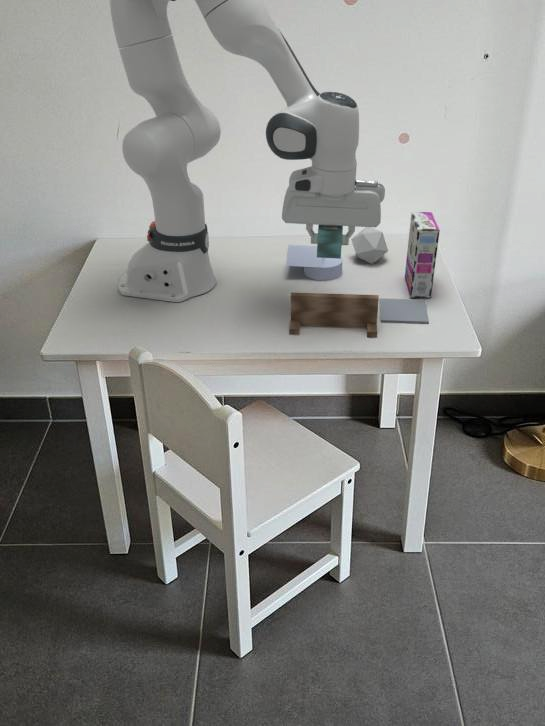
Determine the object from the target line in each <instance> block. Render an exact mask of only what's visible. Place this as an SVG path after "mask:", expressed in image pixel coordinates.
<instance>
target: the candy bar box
mask: <svg viewBox="0 0 545 726" xmlns="http://www.w3.org/2000/svg"><path fill="white" fill-rule="evenodd" d="M410 214H411V215H410V224H409V233H408V240H407V251H406V261H405V269H404V270H405V272H404V279H405V282H406V286H407V291H408V293H409V297H410V299H431V298H432V294H433V293H432V291H433V284H434V277H435V271H436V270H435V268H436V261H437V255H438V254H437V253H438V248H439V247H438V245H439V240H440V239H439V238H440V231H441V229H440V228H439V226H438V224H437V221H436V219H435V217H434V214H433V212H431V211H429V212H428V211H418V212H417V211H412V212H411V213H410Z"/></svg>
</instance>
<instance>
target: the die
mask: <svg viewBox="0 0 545 726" xmlns="http://www.w3.org/2000/svg"><path fill="white" fill-rule="evenodd" d="M350 240H351V242H352V246H353V250H354V252H355V256H356V258H357V259H359V260H361V261H363V262H366V263H368V264H371V265H373V264H374V263H375V262H376V261H378V260H379V259H380V258H382V257H383V256H384V255H385V254H387V252H389V249H388V245H387V243H386V239H385V236H384V233H383V231H381V230H379V229H376V228H375V227H363V229H361V231H359V232H358V233H357V234H356V235H354V236H353V237H352V238H350Z"/></svg>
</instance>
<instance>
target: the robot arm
mask: <svg viewBox="0 0 545 726" xmlns="http://www.w3.org/2000/svg"><path fill="white" fill-rule="evenodd" d="M170 1H172V2H175V1H177V0H109V5H110V14H111V15H110V16H111V21H112V26H113V27H112V28H113V32H114V37H115V41H116V45H117V47H118V49H119V50H118V51H119V54H120V55H119V56H120V58H121V62H122V64H123V68H124V70H125V74H126V78H127V81H128V84H129V87H130V89H131V90H132V91H133V92H134V94H137V95H138V96H140V97H142V98H144V99H145V100H146V101H147V103H148V104H149V105H150V107H151V109H152V110H153V112H154V114H155V116H154V117H153V118H149V119H146V120H143V121H141V122H139V123H138V124H137V125H135V126H134V127H132V129H130V130H129V131H128V132H127V133H126V134H125V135H124V137H123V139H122V145H121V147H122V150H121V151H122V154H123V158H124V161H125V163H126V164H127V166H128V167H129V169H131V171H133V172H134V173H135V174H136V175H138V176H140V177H141V178H142V179H143V181H144V183H145V184H146V185H147V188H148V191H149V194H150V196H151V202H152V207H153V213H154V214H153V215H154V221H152V222H151V223H150V224H149V227H148V228H149V229H148V230H147V235H146V241H147V243H146V244H144V245H143V246H142V247H141V248H139V249H138V250H137V251H136V252H135V253H133V255H132V256H131V258H130V259H129V261H128V264H127V269H126V270H127V271H125V272H124V274H123V275H122V276H121V278H120V279H119V281H118V287H117V288H118V293H119V294H120V295H121V296H127V297H135V298H142V299H149V300H159V301H165V302H171V303H181V302H184V301H186V300H188V299H190V298H193V297H196V296H201V295H202V294H206V293H207V292H209V291H211V290H212V289H214V287H215V286H216V283H217V281H216V278H215V274H214V272H213V269H212V266H211V265H212V264H211V261H210V256H209V249H210V244H209V243H210V240H209V239H210V238H209V231H208V226H207V223H206V220H205V219H206V217H205V202H204V194H203V191H202V189H201V188H200V187H199V186H197V185H196V184H194V183H193V182H191V180H190V177H189V173H188V164H189V163H191V162H193V161H196V160H198V159H201V158H202V157H204V156H206V155H207V154H208V153H210V152H211V151H212V150H213V149H214V148H215V147H216V146H217V145H218V143H219V141H220V139H221V135H222V134H221V125H220V122H219V118H218V117H217V116H216V114H215V113H214V112H213V111H212V110H211V109H210V108H209V107H206V105H204V104H203V103H202V102H201V101H200V100H199V99H198V97H197V95H195V92H194V91H193V89H192V87H191V86H190V85H189V83H188V80H187V78H186V76H185V74H184V71H183V68H182V65H181V60H180V59H179V55H178V51H177V48H176V47H177V46H176V44H175V40H174V36H173V32H172V29H171V25H170V23H169V19H168V18H169V17H168V5H169V2H170ZM194 2H195V4H196V6H197V7H198V9H199V11H200V13H201V15H202V17H203V19H204V21H205V23H206V25H207V27H208V29H209V30H210V32H211V34H212V36H213V37H214V39H215V41H216V42H218V44H219V45H220V46H221V47H222V49H223V50H225V51H226V52H228V53H231V54H233V55H236V56H241V57H244V58H248V59H250V60H252V61H255V63H258V64H259V65H261V66H262V67H263V68H264V69H265V70H266V71H267V73H268V75H269V76H270V78H271V79H272V82H273V83H274V84H275V86H276V88H277V90H278V91H279V93H280V95H281V97H282V98H283V100H284V101H285V103H286V106H287V107H286V108H283V109H281V110H280V111H278V112H277V113H275V114H274V115H273V116H271V118H270V119H269V120H268V122H267V124H266V128H265V138H266V139H265V140H266V143H267V145H268V147H269V149H270V151H271V152H272V153H273V154H274V155H275V156H277V158H279V159H282V160H287V161H288V160H289V161H296V160H299V161H300V160H311V166H308V167H304V168H300V169H297V170H294V171H292V172H291V174H290V176H289V179H288V185H289V186H288V187H287V189H286V190H285V194H284V199H283V203H282V204H283V205H282V209H281V210H282V211H281V219H282V221H283V222H284V223H286V224H299V225H305V229H306V231H307V233H308V235H309V236H310V244H312V245H313V244H314V245H317V241H318V232H317V233H316V232H315V231H314V225H317V226H319V225H336V226H343V227H348V228H347V232H346V234H342V246H349V245H350V243H349V241H350V239H351V237H352V236H353V234H354V233H355V231H356V227H359V228H361V227H362V228H365V227H371V228H378V226H379V225H380V224H381V219H382V212H381V209H382V208H381V203H382V202H383V201H384V200H385V194H386V189H385V186H384V185H383V184H382V183H379V181H377V180H364V179H363V180H361V179H357V167H358V166H357V158H356V152H357V149H358V146H359V138H360V114H359V107H358V104H357V102H356V101H355V99H353V98H352V97H351V96H349V95H348V94H344V93H342V92H337V91H323V92H321V93H320V92H319V91H318V89H316V88H315V86H314V85H313V83H312V82H311V80H310V78H309V77H308V75H307V73H306V72H305V69H304V68H303V66H302V65H301V63H300V61H299V60H298V58H297V55H296V54H295V53H294V51H293V49H292V48H291V46H290V43H289V42H288V40H287V39H286V37H284V35H283V33H282V32H281V30H280V29H279V27H278V26H277V25H276V24H275V22H274V20H273V18H272V17H271V15H270V13H269V12H268V9H267V8H266V6H265V4H264V2H263V0H194Z"/></svg>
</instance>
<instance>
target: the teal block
mask: <svg viewBox="0 0 545 726" xmlns="http://www.w3.org/2000/svg"><path fill="white" fill-rule="evenodd" d="M317 226H318V228H317V233H318V241H317V244H316V246H317V257H318V258H338V259H341V257H342V246H343V245H342V235H343V230H344V226H336V225H317Z"/></svg>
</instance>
